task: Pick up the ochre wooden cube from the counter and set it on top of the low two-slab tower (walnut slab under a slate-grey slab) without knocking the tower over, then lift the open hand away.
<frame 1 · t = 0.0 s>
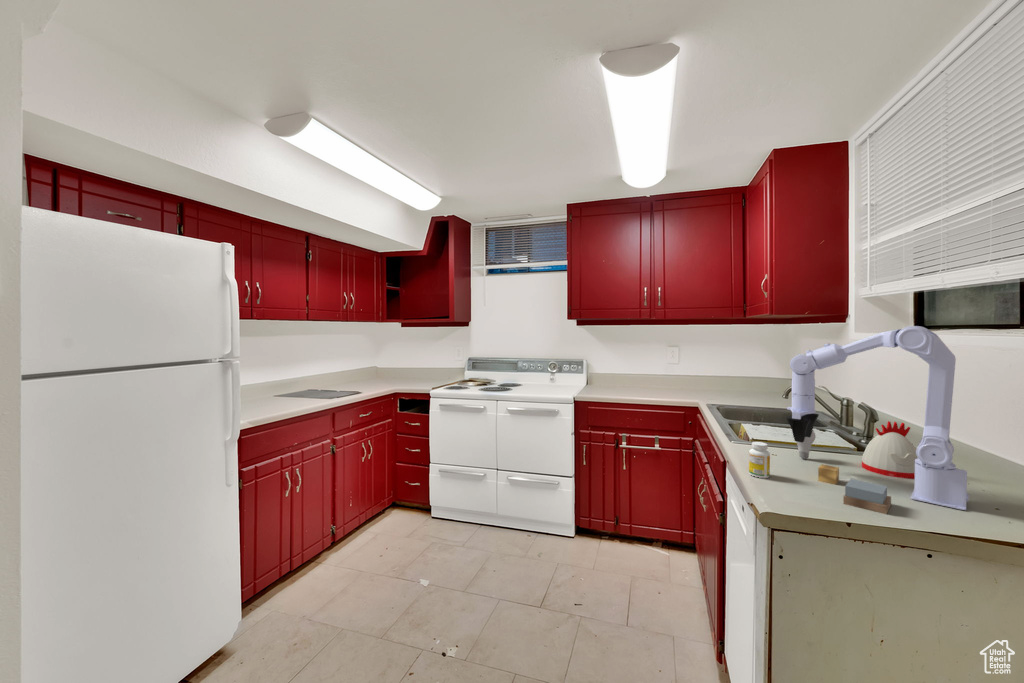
hand: (802, 439, 125), 10 cm above the countertop, tool pointing down, fingers open, 7 cm apart
supplement bottle: (759, 476, 124), on the countertop
tower top: (865, 496, 103), point 2 cm above the countertop
ochre cube: (828, 481, 119), on the countertop
tower base: (867, 506, 103), on the countertop
lightbulb: (803, 459, 138), on the countertop
kitchen timer: (891, 471, 127), on the countertop
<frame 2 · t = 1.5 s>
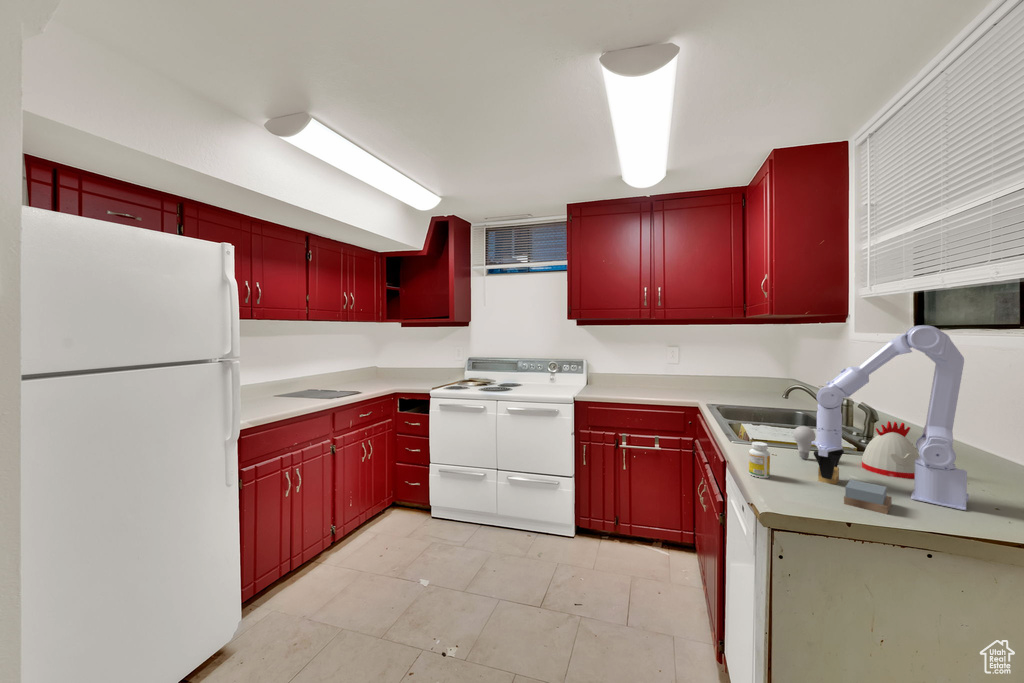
hand: (828, 476, 119), 1 cm above the countertop, tool pointing down, fingers closed on ochre cube, 4 cm apart
tower top: (865, 496, 103), point 2 cm above the countertop, touching tower base
ochre cube: (828, 481, 119), on the countertop, touching gripper
tower base: (867, 506, 103), on the countertop, touching tower top
everything else where it was.
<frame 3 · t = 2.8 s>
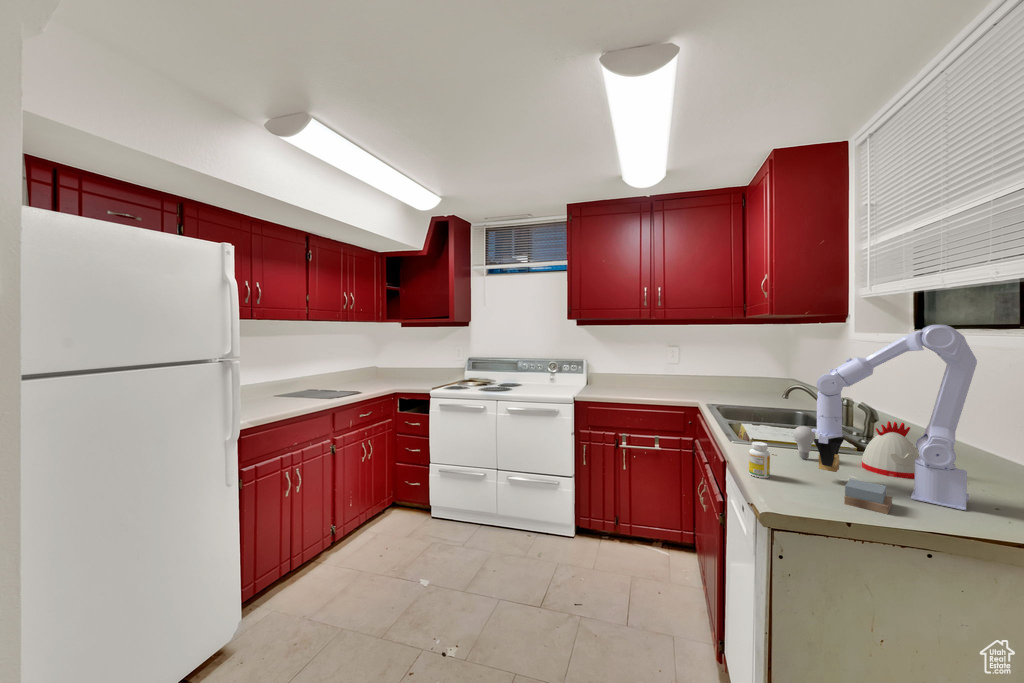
hand: (829, 463, 118), 5 cm above the countertop, tool pointing down, fingers closed on ochre cube, 4 cm apart
ochre cube: (828, 468, 118), point 3 cm above the countertop, touching gripper
everything else where it was.
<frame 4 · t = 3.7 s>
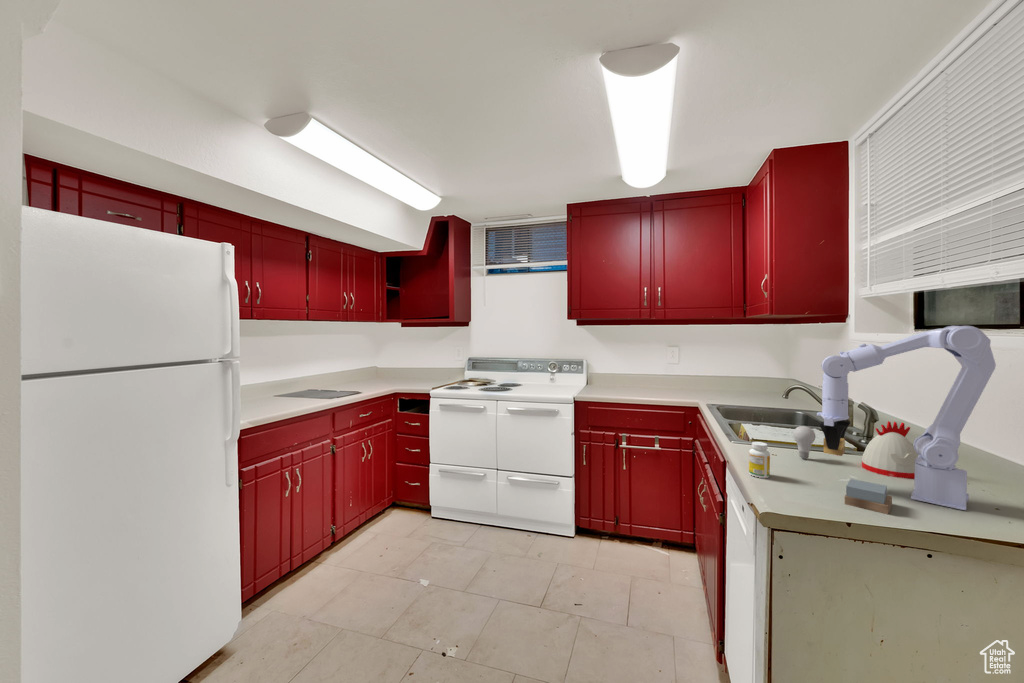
hand: (834, 447, 116), 10 cm above the countertop, tool pointing down, fingers closed on ochre cube, 4 cm apart
ochre cube: (834, 452, 116), point 9 cm above the countertop, touching gripper
everything else where it was.
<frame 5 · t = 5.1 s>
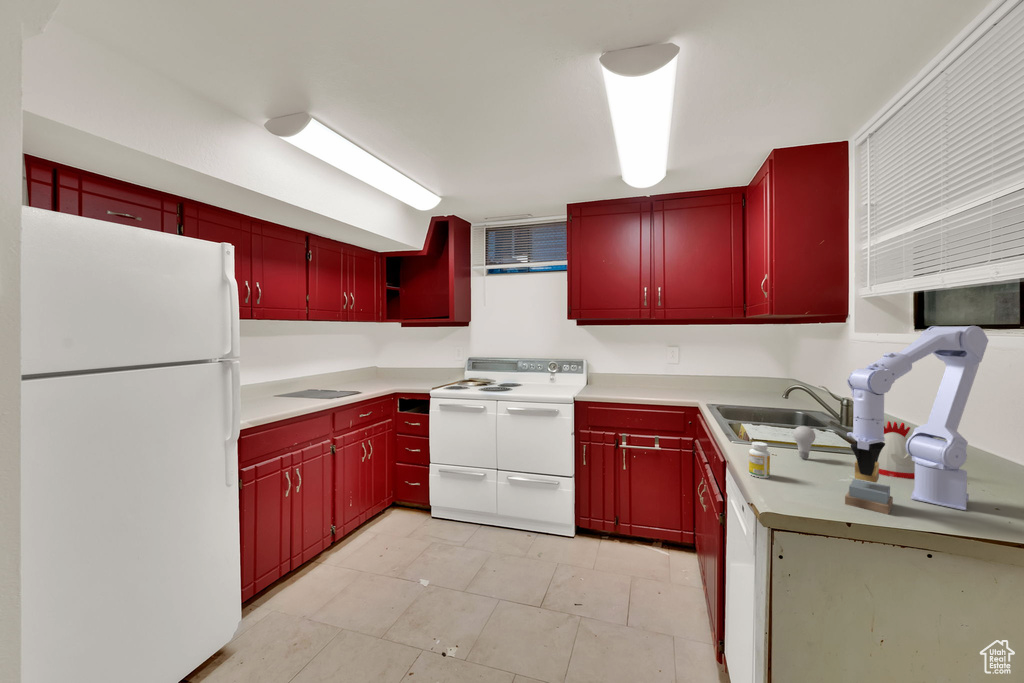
hand: (867, 472, 103), 8 cm above the countertop, tool pointing down, fingers closed on ochre cube, 4 cm apart
ochre cube: (866, 478, 103), point 6 cm above the countertop, touching gripper
everything else where it was.
when the fingers open (8 cm above the countertop, at t = 5.4 s): ochre cube drops 2 cm, point 4 cm above the countertop.
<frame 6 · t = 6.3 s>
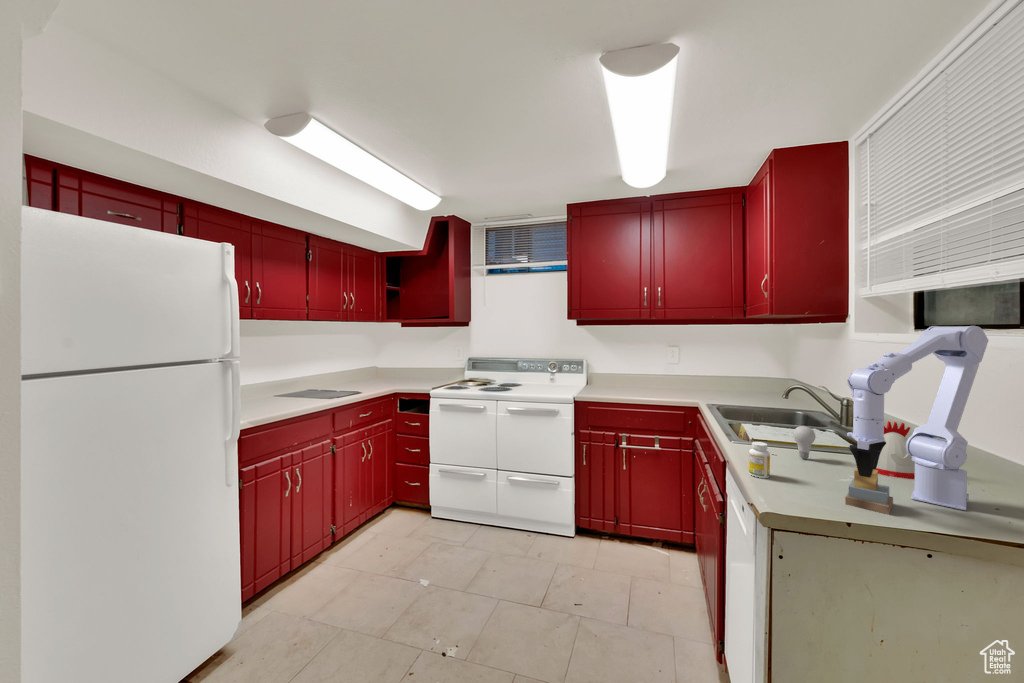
hand: (867, 472, 103), 8 cm above the countertop, tool pointing down, fingers open, 7 cm apart
ochre cube: (866, 486, 103), point 4 cm above the countertop
everything else where it was.
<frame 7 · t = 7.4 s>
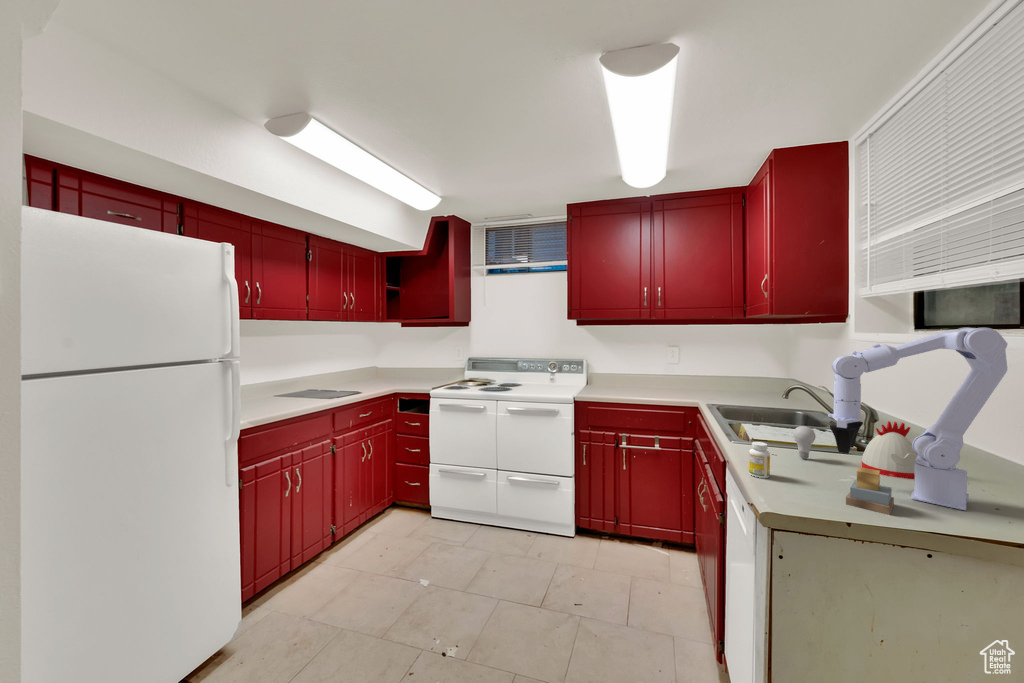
hand: (846, 449, 113), 10 cm above the countertop, tool pointing down, fingers open, 7 cm apart
tower top: (870, 497, 103), point 2 cm above the countertop
tower base: (869, 507, 103), on the countertop
everything else where it was.
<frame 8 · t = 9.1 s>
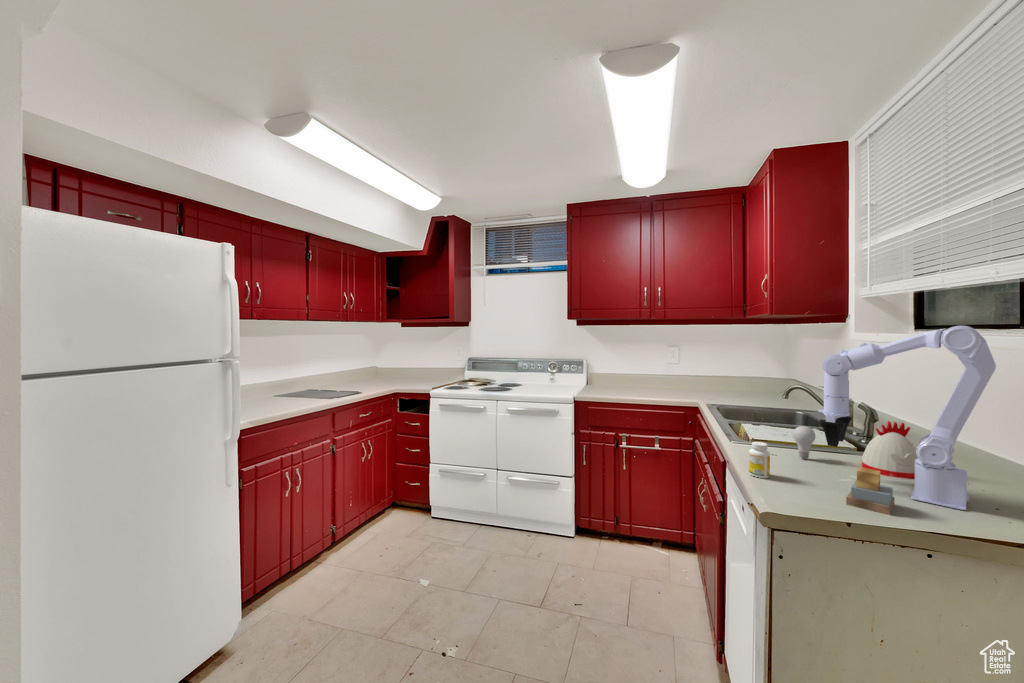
hand: (835, 443, 120), 10 cm above the countertop, tool pointing down, fingers open, 7 cm apart
tower top: (871, 497, 103), point 2 cm above the countertop, touching ochre cube, tower base
ochre cube: (868, 487, 103), point 4 cm above the countertop, touching tower top
tower base: (870, 507, 103), on the countertop, touching tower top
everything else where it was.
at the end: ochre cube 0.7 cm off-centre on the tower top, point 2.6 cm above the tower top's base; tower top moved 1.0 cm from its start; the gripper is holding nothing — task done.
